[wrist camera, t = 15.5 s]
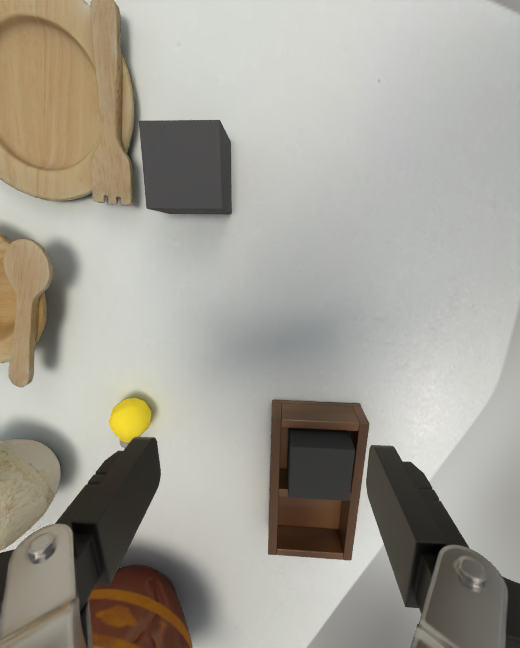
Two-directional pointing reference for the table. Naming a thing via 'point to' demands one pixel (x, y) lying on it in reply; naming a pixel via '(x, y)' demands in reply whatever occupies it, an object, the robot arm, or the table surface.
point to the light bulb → (130, 419)
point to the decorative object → (25, 486)
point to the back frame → (313, 514)
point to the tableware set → (56, 140)
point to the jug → (138, 612)
